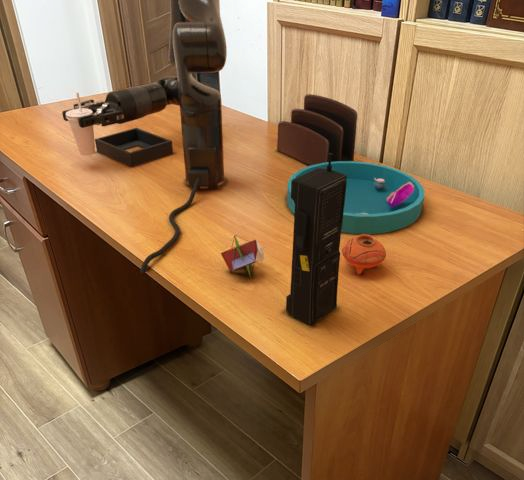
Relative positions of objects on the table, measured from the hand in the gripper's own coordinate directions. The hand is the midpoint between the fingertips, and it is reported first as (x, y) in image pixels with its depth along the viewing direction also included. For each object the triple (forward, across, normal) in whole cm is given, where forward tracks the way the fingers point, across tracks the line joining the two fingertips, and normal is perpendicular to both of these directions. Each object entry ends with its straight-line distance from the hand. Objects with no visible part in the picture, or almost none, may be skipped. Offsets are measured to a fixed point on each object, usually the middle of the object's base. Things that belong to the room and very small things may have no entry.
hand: (71, 119), depth 126 cm
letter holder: (-47, +37, +13) cm, 61 cm away
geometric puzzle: (+7, +64, +12) cm, 65 cm away
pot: (-10, +79, +12) cm, 80 cm away
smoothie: (-2, 0, +9) cm, 9 cm away
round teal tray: (-32, +61, +12) cm, 70 cm away
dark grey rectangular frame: (-16, 0, +12) cm, 20 cm away
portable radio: (+8, +81, +12) cm, 82 cm away
